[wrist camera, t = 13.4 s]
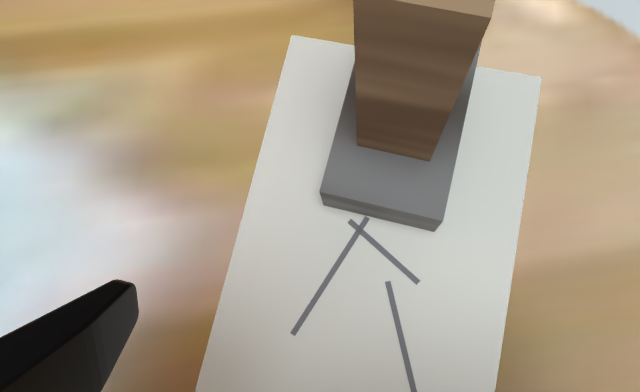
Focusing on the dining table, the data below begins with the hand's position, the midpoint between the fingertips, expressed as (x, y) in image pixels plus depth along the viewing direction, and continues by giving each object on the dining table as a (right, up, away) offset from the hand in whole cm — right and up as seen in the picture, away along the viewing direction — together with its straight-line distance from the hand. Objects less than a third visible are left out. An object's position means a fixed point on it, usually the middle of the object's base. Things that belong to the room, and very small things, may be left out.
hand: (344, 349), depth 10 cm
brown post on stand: (+3, +6, +13) cm, 15 cm away
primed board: (+2, -1, +13) cm, 13 cm away
